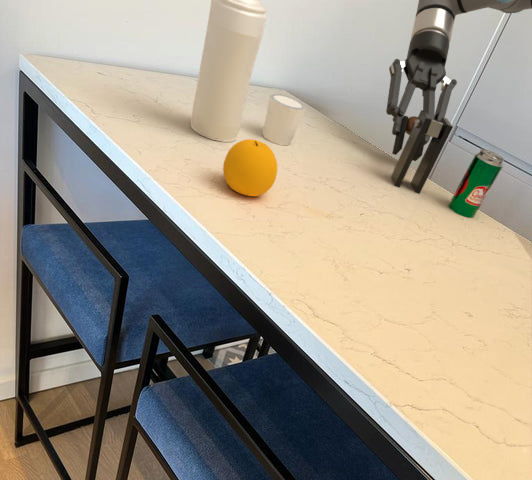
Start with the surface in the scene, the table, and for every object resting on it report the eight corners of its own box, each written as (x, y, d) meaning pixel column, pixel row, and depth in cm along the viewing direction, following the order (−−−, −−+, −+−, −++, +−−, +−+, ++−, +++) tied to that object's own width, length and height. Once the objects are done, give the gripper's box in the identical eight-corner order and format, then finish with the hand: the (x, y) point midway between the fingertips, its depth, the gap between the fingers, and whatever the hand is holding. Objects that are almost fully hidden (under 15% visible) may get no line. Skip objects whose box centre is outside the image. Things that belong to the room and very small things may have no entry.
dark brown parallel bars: (378, 175, 109) (410, 102, 101) (416, 187, 110) (451, 116, 102) (385, 197, 101) (421, 120, 93) (426, 209, 103) (465, 134, 94)
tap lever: (399, 131, 110) (405, 113, 109) (415, 137, 111) (421, 119, 110) (421, 136, 98) (429, 115, 96) (439, 142, 98) (447, 121, 97)
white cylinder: (270, 145, 104) (282, 106, 99) (252, 129, 108) (263, 91, 103) (300, 148, 107) (313, 111, 103) (282, 132, 111) (293, 95, 107)
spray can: (252, 151, 99) (299, -12, 83) (196, 145, 93) (235, -31, 78) (225, 123, 106) (264, -33, 90) (172, 116, 100) (204, -51, 85)
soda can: (457, 224, 102) (492, 160, 94) (439, 209, 105) (472, 146, 97) (475, 224, 104) (512, 162, 97) (457, 210, 107) (491, 149, 100)
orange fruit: (277, 206, 85) (293, 158, 80) (227, 200, 81) (241, 150, 77) (259, 180, 90) (273, 134, 85) (212, 174, 86) (224, 125, 82)
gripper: (458, 67, 116) (436, 174, 113) (383, 40, 113) (359, 150, 110) (478, 44, 108) (456, 159, 106) (398, 15, 106) (374, 132, 103)
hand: (407, 154), depth 108 cm, fingers closed on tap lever, 3 cm apart
